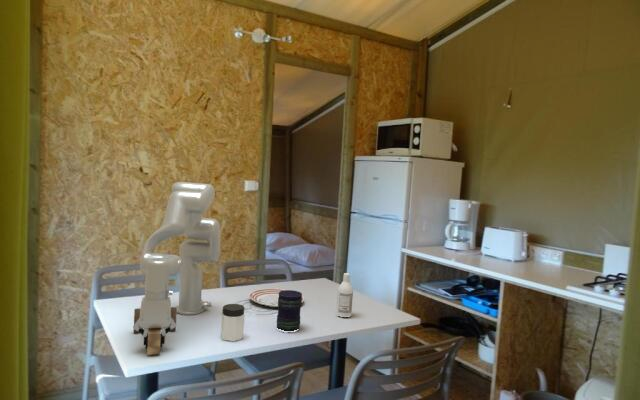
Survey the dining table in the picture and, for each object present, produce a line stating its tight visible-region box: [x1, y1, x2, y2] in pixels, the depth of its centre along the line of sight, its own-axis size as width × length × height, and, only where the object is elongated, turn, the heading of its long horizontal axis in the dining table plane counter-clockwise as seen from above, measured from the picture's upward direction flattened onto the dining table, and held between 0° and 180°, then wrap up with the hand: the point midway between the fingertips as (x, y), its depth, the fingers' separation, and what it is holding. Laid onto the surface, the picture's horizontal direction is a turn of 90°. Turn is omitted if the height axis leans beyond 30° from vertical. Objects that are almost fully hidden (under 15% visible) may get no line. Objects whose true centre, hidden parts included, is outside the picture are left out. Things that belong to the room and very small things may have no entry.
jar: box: [220, 303, 245, 342], centre depth 169 cm, size 9×8×12 cm
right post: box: [168, 306, 178, 333], centre depth 171 cm, size 3×3×9 cm
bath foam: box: [335, 272, 354, 316], centre depth 204 cm, size 7×7×20 cm
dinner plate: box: [248, 288, 305, 308], centre depth 219 cm, size 27×27×3 cm
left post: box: [133, 307, 141, 335], centre depth 167 cm, size 3×3×9 cm
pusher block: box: [146, 328, 162, 356], centre depth 152 cm, size 4×10×7 cm, turn 19°
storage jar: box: [276, 289, 303, 331], centre depth 182 cm, size 10×10×15 cm
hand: (154, 345), depth 152 cm, fingers closed on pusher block, 4 cm apart
